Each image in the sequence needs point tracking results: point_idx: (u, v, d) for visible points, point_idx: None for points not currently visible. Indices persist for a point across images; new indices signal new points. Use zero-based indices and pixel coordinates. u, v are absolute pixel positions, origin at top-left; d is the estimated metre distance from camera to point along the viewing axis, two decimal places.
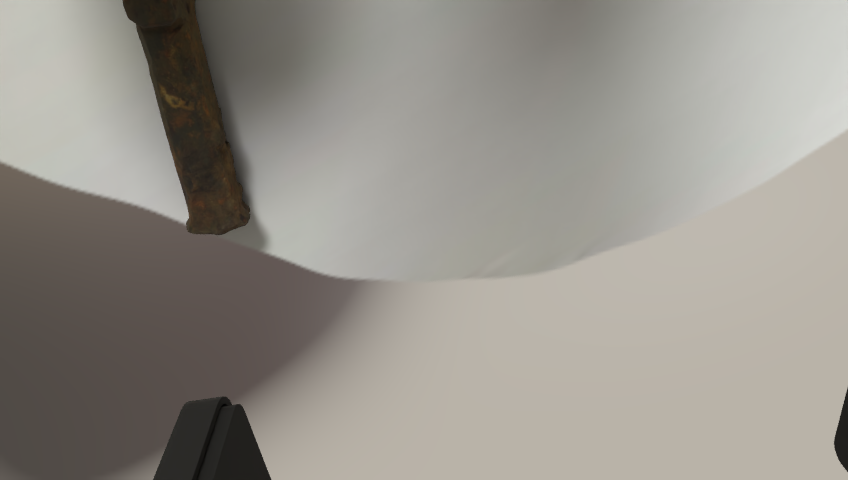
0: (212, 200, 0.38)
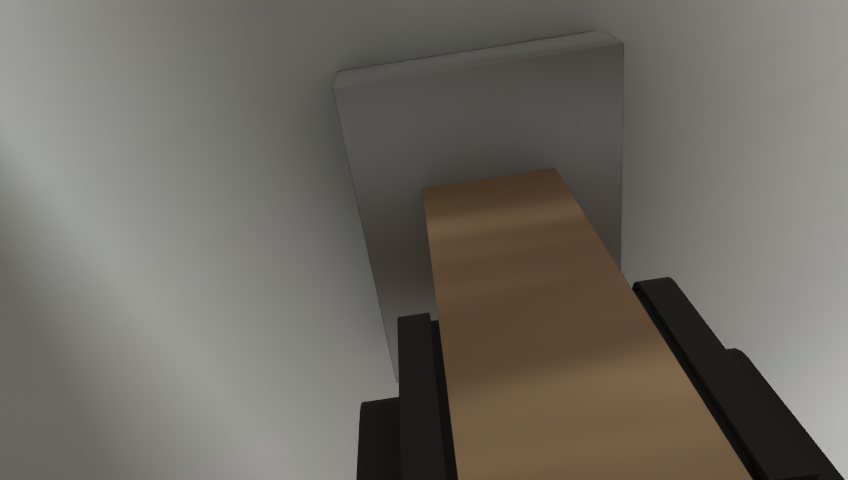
0: None
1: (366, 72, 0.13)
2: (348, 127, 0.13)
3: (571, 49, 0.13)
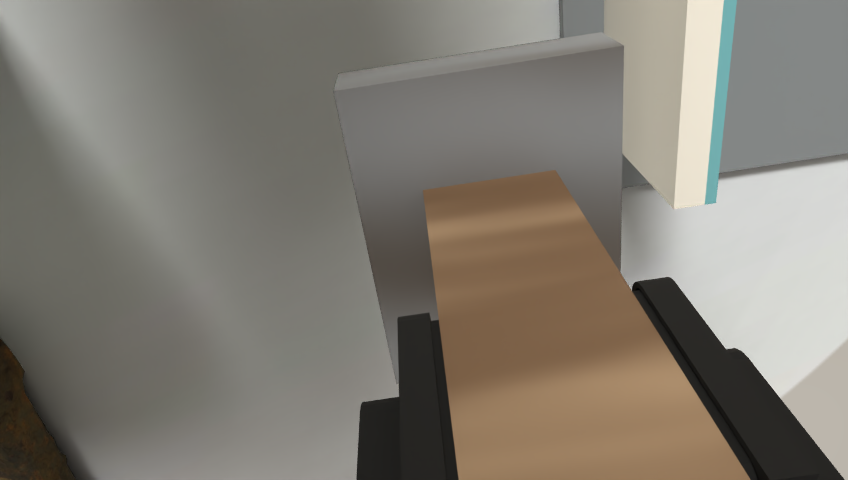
0: None
1: (367, 74, 0.13)
2: (349, 129, 0.13)
3: (572, 51, 0.13)
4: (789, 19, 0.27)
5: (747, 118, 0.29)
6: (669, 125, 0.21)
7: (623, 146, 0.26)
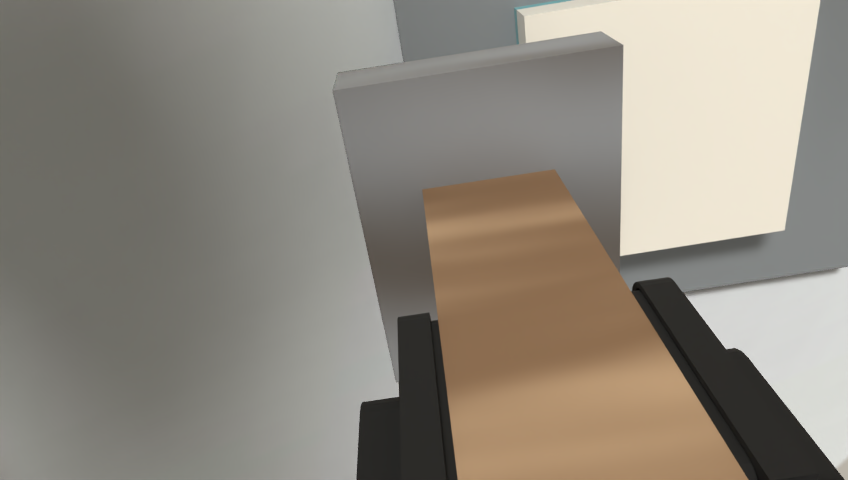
0: None
1: (366, 73, 0.13)
2: (348, 128, 0.13)
3: (571, 51, 0.13)
4: None
5: None
6: (773, 151, 0.19)
7: (623, 245, 0.20)
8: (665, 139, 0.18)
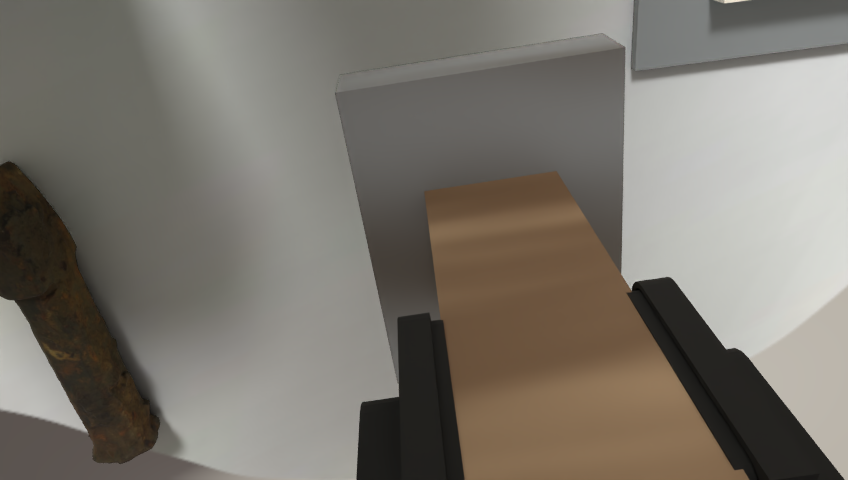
0: (112, 433, 0.37)
1: (368, 75, 0.13)
2: (350, 130, 0.13)
3: (573, 53, 0.13)
4: None
5: None
6: None
7: None
8: None
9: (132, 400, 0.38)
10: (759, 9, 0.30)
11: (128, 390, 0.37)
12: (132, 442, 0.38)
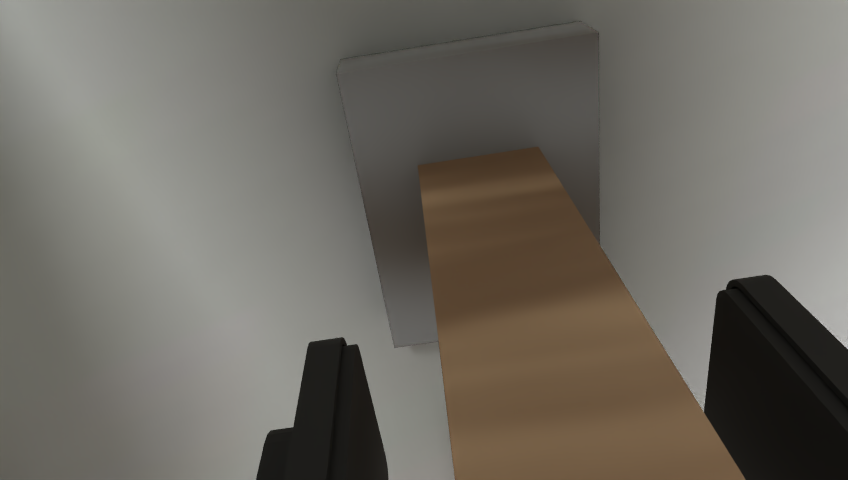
0: None
1: (366, 59, 0.15)
2: (350, 109, 0.14)
3: (551, 38, 0.14)
4: None
5: None
6: None
7: None
8: None
9: None
10: None
11: None
12: None
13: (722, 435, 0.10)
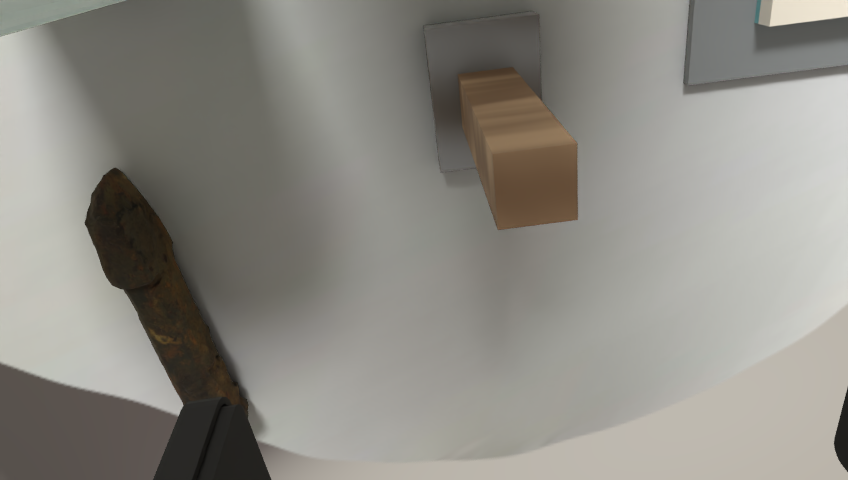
0: None
1: (436, 25, 0.33)
2: (429, 46, 0.32)
3: (518, 16, 0.32)
4: None
5: None
6: None
7: (822, 12, 0.32)
8: None
9: (225, 381, 0.41)
10: (798, 31, 0.34)
11: (222, 372, 0.41)
12: None
13: None
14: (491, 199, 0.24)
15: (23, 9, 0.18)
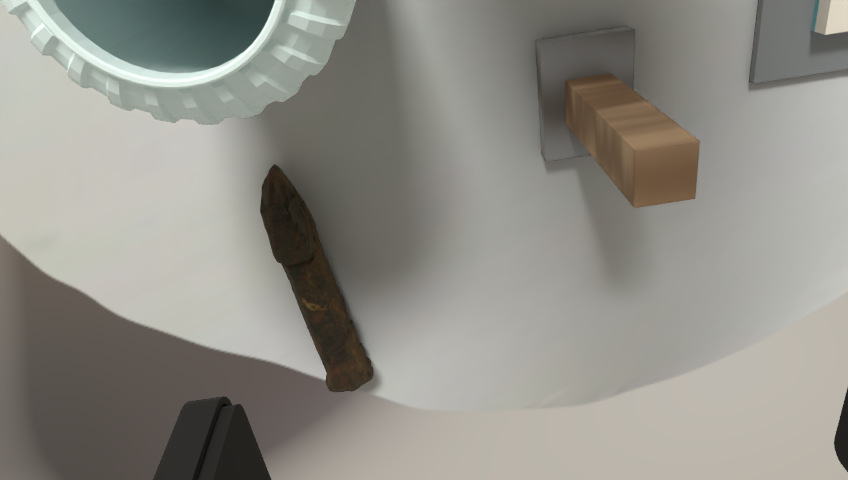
0: (345, 367, 0.48)
1: (547, 40, 0.40)
2: (543, 58, 0.39)
3: (617, 32, 0.39)
4: None
5: None
6: None
7: None
8: None
9: (356, 342, 0.49)
10: (847, 36, 0.41)
11: (354, 334, 0.49)
12: (359, 374, 0.49)
13: None
14: (625, 184, 0.31)
15: None
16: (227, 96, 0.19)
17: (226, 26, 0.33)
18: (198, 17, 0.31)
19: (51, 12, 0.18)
